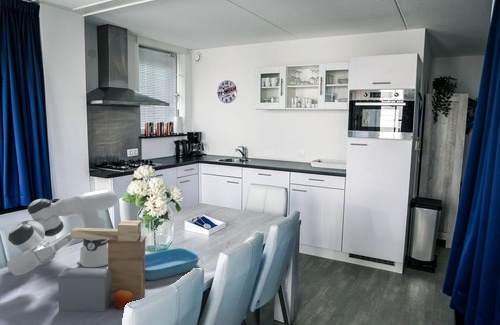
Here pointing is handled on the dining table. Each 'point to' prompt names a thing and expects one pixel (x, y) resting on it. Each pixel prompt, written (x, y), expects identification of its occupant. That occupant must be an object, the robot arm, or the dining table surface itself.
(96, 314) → the dining table surface
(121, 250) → the shelf block
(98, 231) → the mallet
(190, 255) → the casserole dish
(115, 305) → the fruit
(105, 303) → the storage box
